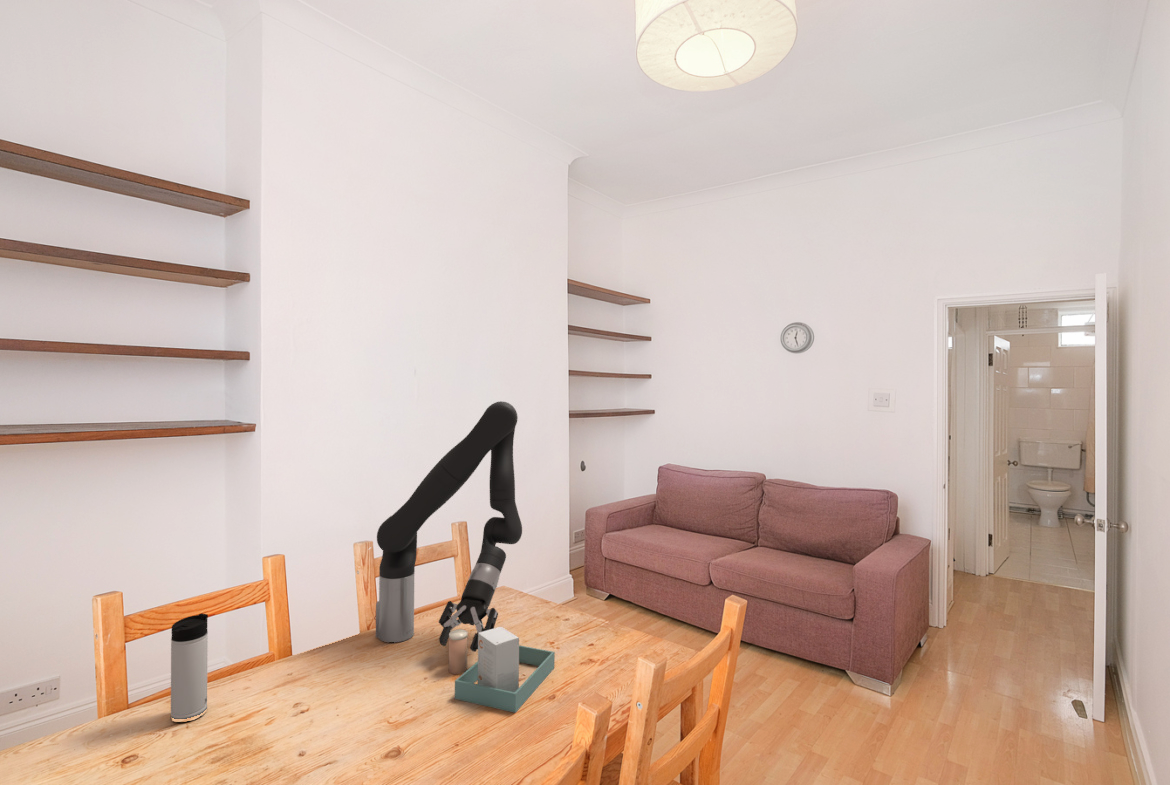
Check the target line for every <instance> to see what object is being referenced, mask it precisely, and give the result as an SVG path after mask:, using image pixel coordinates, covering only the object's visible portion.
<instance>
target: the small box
mask: <svg viewBox="0 0 1170 785" xmlns="http://www.w3.org/2000/svg"><path fill="white" fill-rule="evenodd" d="M519 645H520V637H519V636H517V635H515V634H514V633H512V632H511V631H509V630H508V629H507V628H504V627H503V626H498V627H494V629H490V630H487V631H483V632H479V633H478V650H477V661H478V680H477V681H476V682H477V683H476V684H478V685H483V686H487V687H492V688H497V689H501V690H506V691H510V692H516V691H517V689H518V688H519V687H520V675H519V674H520V662H519Z"/></svg>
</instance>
